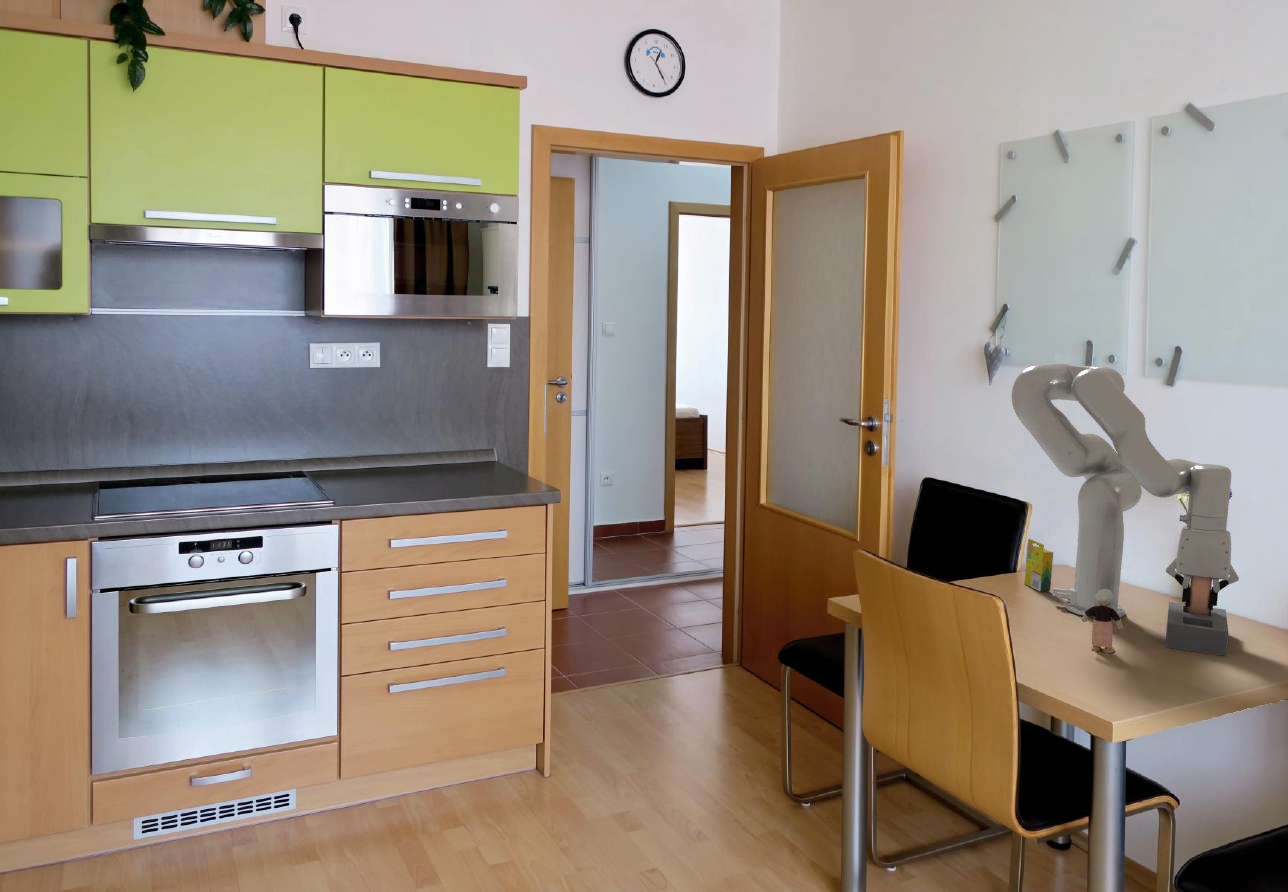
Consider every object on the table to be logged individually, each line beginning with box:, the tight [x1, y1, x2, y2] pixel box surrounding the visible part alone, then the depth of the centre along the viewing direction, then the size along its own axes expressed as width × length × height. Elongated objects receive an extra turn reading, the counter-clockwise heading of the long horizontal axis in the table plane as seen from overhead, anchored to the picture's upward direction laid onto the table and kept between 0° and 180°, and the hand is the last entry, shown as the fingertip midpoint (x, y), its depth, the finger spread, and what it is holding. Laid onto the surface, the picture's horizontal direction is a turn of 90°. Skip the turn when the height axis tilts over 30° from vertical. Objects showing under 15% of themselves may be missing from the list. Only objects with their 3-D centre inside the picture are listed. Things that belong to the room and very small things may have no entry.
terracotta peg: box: [1188, 576, 1213, 616], centre depth 232 cm, size 4×4×11 cm
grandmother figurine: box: [1081, 589, 1124, 654], centre depth 220 cm, size 8×4×13 cm, turn 71°
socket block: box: [1165, 601, 1229, 657], centre depth 229 cm, size 11×18×5 cm, turn 154°
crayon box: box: [1024, 538, 1054, 593], centre depth 266 cm, size 7×3×12 cm, turn 11°
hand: (1198, 606), depth 232 cm, fingers closed on terracotta peg, 4 cm apart
